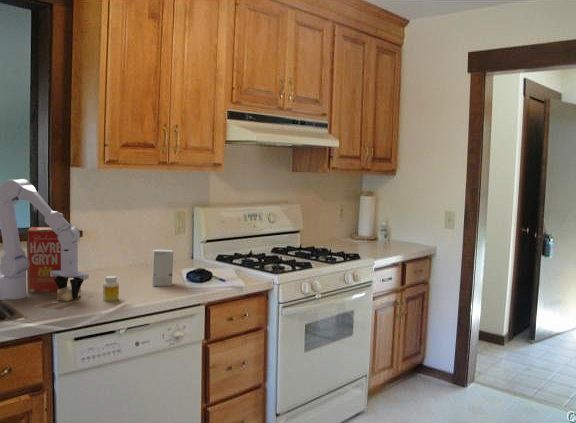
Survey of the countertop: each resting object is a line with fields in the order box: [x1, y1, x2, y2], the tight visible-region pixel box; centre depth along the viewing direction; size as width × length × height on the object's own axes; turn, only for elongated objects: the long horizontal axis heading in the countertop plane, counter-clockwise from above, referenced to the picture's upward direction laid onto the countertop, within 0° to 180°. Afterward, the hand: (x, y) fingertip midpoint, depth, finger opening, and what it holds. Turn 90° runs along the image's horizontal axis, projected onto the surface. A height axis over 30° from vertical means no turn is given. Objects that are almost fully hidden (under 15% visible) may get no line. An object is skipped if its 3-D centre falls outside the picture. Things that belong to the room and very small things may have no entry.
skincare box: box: [151, 248, 174, 287], centre depth 225 cm, size 8×6×15 cm
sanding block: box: [56, 284, 82, 302], centre depth 195 cm, size 4×8×4 cm, turn 167°
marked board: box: [31, 293, 94, 311], centre depth 192 cm, size 11×20×1 cm, turn 168°
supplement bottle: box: [102, 275, 120, 303], centre depth 195 cm, size 5×5×10 cm
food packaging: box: [26, 226, 61, 293], centre depth 207 cm, size 13×9×25 cm
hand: (69, 297), depth 195 cm, fingers closed on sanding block, 4 cm apart
